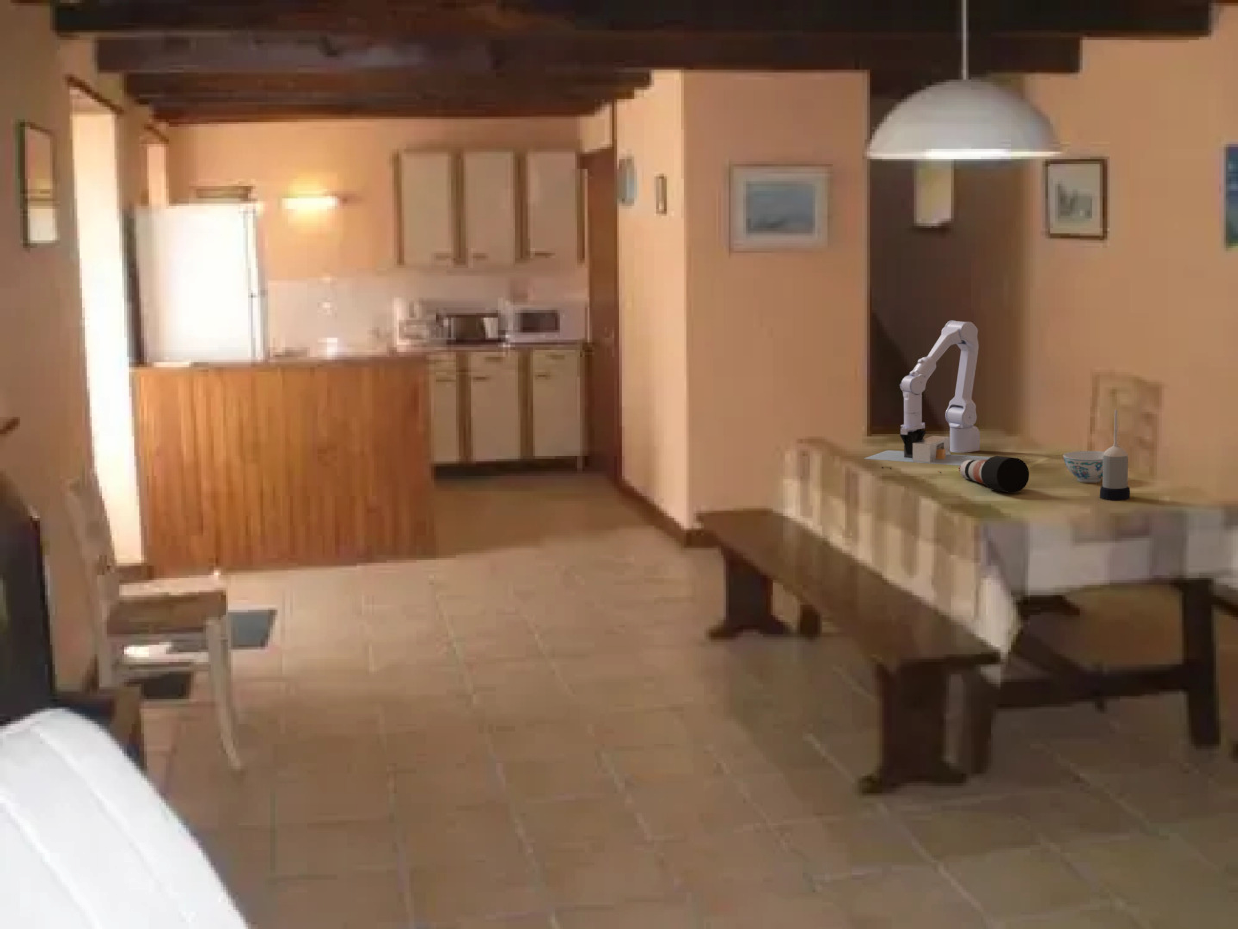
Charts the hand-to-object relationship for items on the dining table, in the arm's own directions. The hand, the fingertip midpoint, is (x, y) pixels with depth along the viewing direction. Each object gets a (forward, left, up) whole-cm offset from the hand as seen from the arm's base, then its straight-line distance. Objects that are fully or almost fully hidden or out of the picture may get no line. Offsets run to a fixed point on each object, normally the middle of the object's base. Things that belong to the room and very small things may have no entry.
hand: (913, 453), depth 511 cm
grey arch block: (-3, +6, -2) cm, 7 cm away
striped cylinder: (+9, +50, -2) cm, 51 cm away
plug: (-2, +4, -1) cm, 4 cm away
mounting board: (-3, +5, -2) cm, 6 cm away
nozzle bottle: (-7, +86, -2) cm, 86 cm away
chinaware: (-19, +62, -2) cm, 65 cm away
